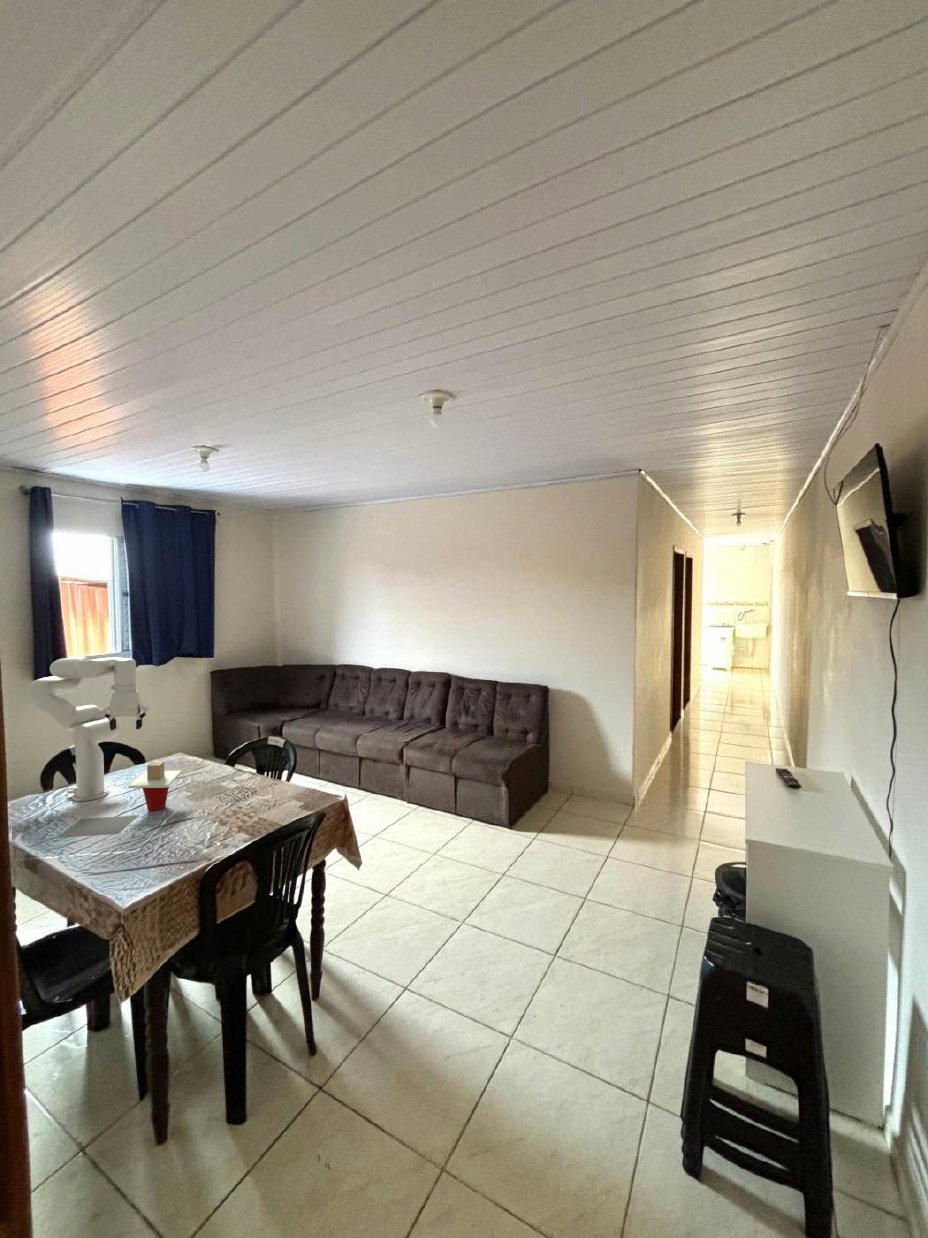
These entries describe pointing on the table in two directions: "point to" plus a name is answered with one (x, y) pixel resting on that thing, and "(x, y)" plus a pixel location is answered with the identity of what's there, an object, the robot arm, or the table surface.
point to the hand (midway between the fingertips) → (126, 729)
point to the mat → (98, 826)
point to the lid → (155, 777)
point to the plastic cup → (156, 798)
